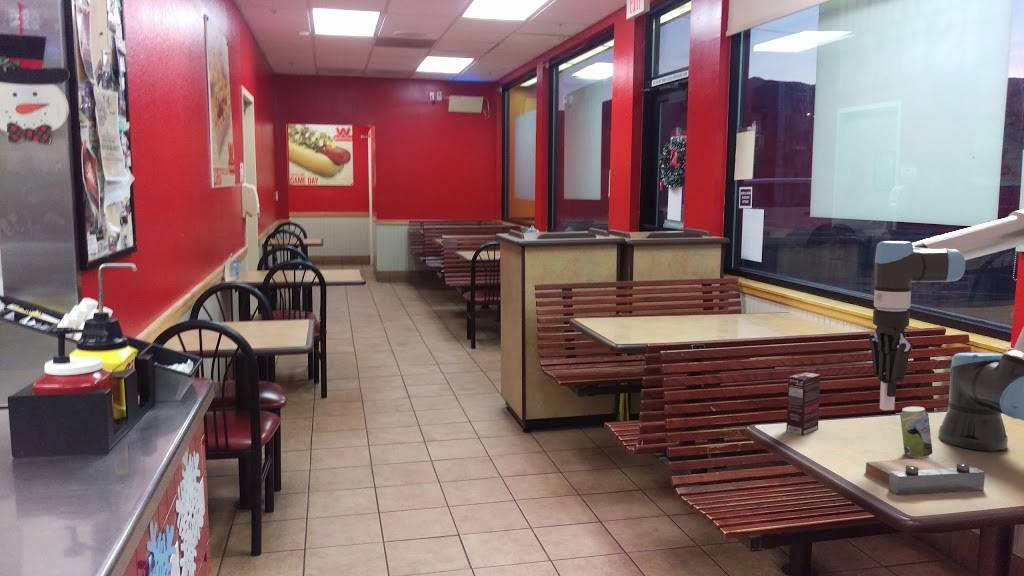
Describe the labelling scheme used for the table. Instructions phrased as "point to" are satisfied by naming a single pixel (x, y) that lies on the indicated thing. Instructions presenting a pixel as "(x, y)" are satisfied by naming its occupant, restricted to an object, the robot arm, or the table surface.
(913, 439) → the beverage can
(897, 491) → the stop bar
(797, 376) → the supplement box
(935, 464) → the brown wooden board
